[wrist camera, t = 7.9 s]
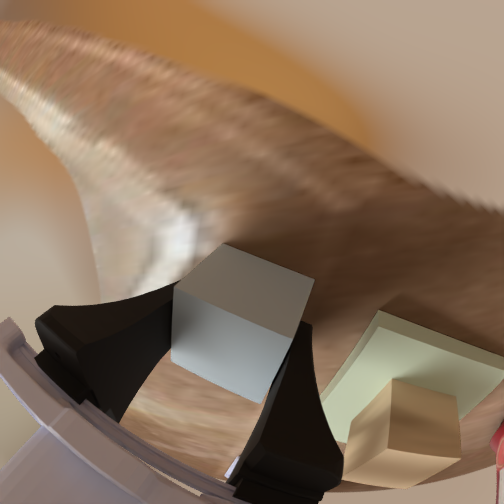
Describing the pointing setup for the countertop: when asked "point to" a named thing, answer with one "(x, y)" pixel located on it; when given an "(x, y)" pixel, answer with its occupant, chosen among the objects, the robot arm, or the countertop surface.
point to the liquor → (499, 461)
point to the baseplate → (408, 369)
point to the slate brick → (237, 320)
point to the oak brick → (402, 437)
